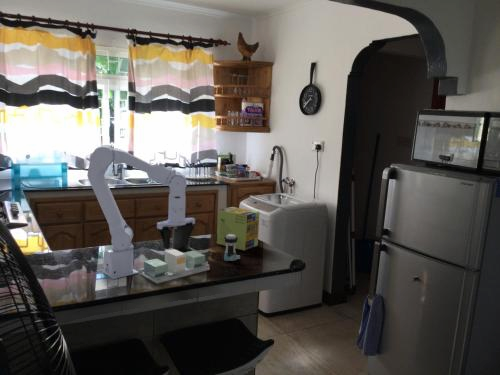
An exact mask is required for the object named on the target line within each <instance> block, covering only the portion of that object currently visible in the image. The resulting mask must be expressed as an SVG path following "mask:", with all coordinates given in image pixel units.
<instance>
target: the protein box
mask: <svg viewBox="0 0 500 375" xmlns="http://www.w3.org/2000/svg"><path fill="white" fill-rule="evenodd" d="M217 214H218V215H217V235H216V244H217V245H220V246H225V247H226V242H225V239H224V237H225V236H227V234H234V235H236V237H238V239H237V242H236V243H235V250H236V249H237V250H240V251H247V250H250V249H252V247H253V248H255V247H258V246H259V230H260V228H259V227H260V211H258V210H251V209H247V208H241V207H234V206H231V207H230V206H229V207H225V208H221V209H218V212H217ZM228 245H229V244H228Z"/></svg>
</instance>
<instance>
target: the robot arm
mask: <svg viewBox="0 0 500 375" xmlns="http://www.w3.org/2000/svg"><path fill="white" fill-rule="evenodd" d="M112 164H114V165H117V164H118V165H119V164H120V165H121V164H125V165H127V166H130V167H132V168H134V169H137V170H140V172H144V173H146V175H147V177H148V179H150V180H152V181H154V182H156V183H159V184H161V185H163V186H168V187H169V194H168V209H167V210H168V212H167V213H168V215H167V217H168V219H166V220H163V221H160V222H156V228H157V230H158V232H159V234H160V236H161V238H162V242H163V247H164V249H167V250H170V246H171V244H170V243H171V235H172V233H173V229H172V230H171V229H170V228H172V227H173V228H174V227H176V226H180V225H181V229H182V243H183V244H184V245H187V244H188V240H189V241H190V237H191V234H192V232H193V231H194V229H195V225H194V224H196V218H194V217H186V188H187V184H188V183H187V180H186V177H185V176H184V174H182V173H181V172H177V170H176V169H173V170H172V169H170V168H168V167H165V166H164V163H162V162H159V163H158V162H154V163H149V162H147V161H145V160H142V159H141V158H139V157H137V156H135V155H133V154H131V153H129V152H128V151H125V150H123V149H121V148H118V147H113V146H112V145H109V144H104V145H101V146H99V147H96V148H95V149H94V150H93V152H92V153H91V155H90V156H89V164H88V165H89V166H88V169H87V179H88V181H89V183H90V186H91V188H92V190H93V192H94V194H95V196H96V199H97V201H98V204H99V206H100V208H101V210H102V213H103V215H104V217H105V219H106V221H107V224H108V228H109V233H110V236H111V240H110V242H111V243H110V244H111V248H110V249H108V250H105V251H104V252H103V256H102V257H103V259H102V260H103V262H102V263H103V264H102V265H103V270H102V273H103V274H104V275H106V276H107V277H109V278H110V279H112V280H115V279H119V278H123V277H127V276H132V275H136V274H139V271H138V270H136V269H135V268H134V245H133V242H132V239H133V238H134V231H133V229H132V228H131V227H130V226H129V225H128V224H127V222H126V221H125V219H124V218H123V216H122V213H121V212H120V209H119V207H118V204H117V202H116V200H115V198H114V195H113V193H112V191H111V189H110V186H109V184H108V181H107V180H106V176H105V175H106V173H107V171H108V169H109V167H110V165H112Z"/></svg>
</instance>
